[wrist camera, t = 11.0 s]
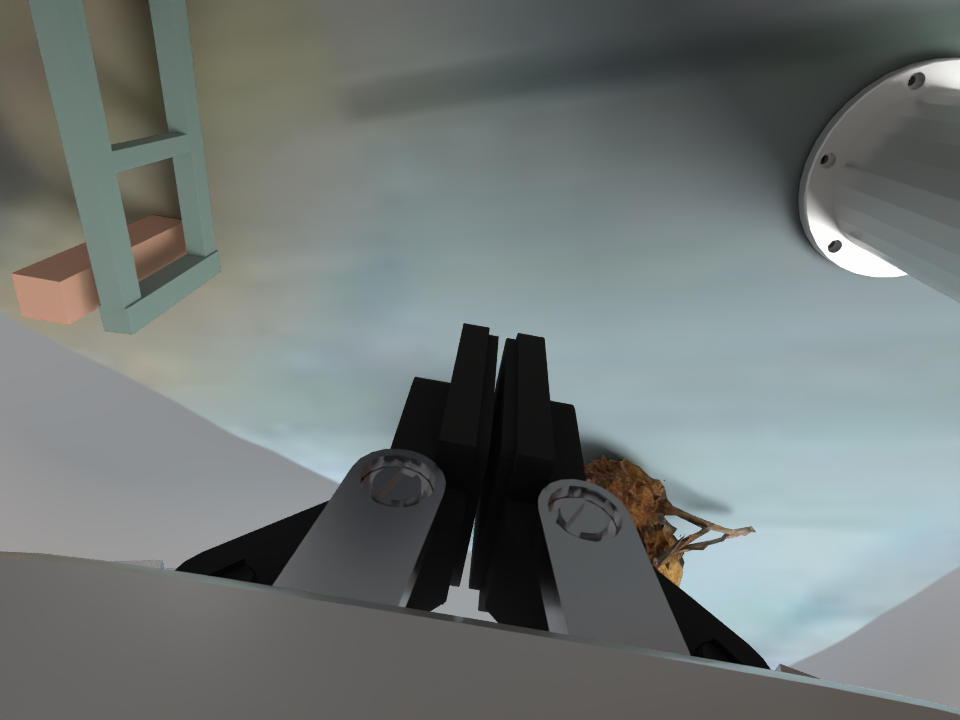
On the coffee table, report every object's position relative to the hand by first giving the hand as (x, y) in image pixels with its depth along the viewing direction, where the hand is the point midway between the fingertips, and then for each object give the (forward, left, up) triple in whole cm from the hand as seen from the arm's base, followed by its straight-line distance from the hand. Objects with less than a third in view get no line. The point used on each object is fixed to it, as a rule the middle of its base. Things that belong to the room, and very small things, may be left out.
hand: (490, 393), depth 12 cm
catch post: (+22, +9, -27) cm, 36 cm away
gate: (+20, +1, -26) cm, 32 cm away
